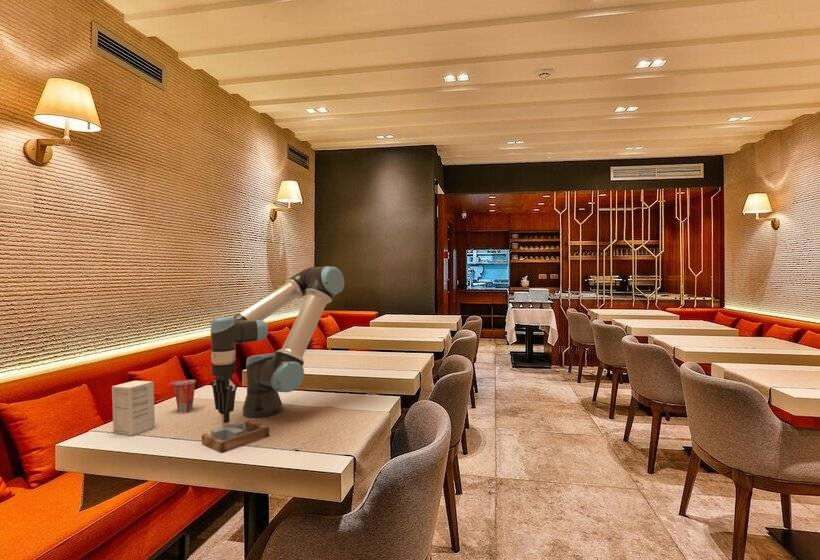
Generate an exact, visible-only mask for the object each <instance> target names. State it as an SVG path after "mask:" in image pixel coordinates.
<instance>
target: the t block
mask: <svg viewBox="0 0 820 560" xmlns="http://www.w3.org/2000/svg"><path fill="white" fill-rule="evenodd" d="M244 424H245V423H242V422H239V421H237V422H234V423H230V425H227V426H224V427H221V428H220V427H218V428H214V429H211V430H210V435H211V436H213V437H216V438H218V439H221V440H226V439H229V438H232V437H235V436H238V435H241V434H244V433H245V425H244Z"/></svg>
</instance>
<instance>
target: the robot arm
mask: <svg viewBox="0 0 820 560" xmlns="http://www.w3.org/2000/svg"><path fill="white" fill-rule="evenodd" d="M344 287H345V278H344V274H343V273H342V271H341V270H340V269H339V268H337V267H336V266H330V265H327V266H311V267H307V268H304V269H302V270H301V271H299V272H298V273H296V274H294V275H293V276H291V277H289V278H287V280H286V281H285V283H284V284H283V285H281V286H279V287H278V288H277V289H275V290H274V291H272V292H270V293H269V294H267V295H265V296H264V297H262V298H261V299H259V300H258V301H256V302H254V303H253V304H251V305H250V306H248V307H247V308H245V309H243V310H242V311H240V312H239V313H237V314H235V315H234V316H223V317H222V316H221V317H220V316H219V317H214V318H213V319H211V322H210V331H209V333H210V343H211V344H210V345H211V355H210V358H211V363H212V364H211V375H212V376H213V377H214V380H212V381H211V382H210V385H211V388H212V393H213V399H214V401H213V402H214V406H215V407H214V409H215V411H216V410H217V412H218V413H219V428H221V427H224V426H227V425H231V423H230V419H231V418H230V413H231V412H234V410H235V401H236V395H237V394H236V393H237V390H238V384H234V379H233V375H234V374H236V362H235V361H236V344H237V345H238V344H243V343H244V344H245V343H250V342H251V343H252V342H259V341H263V340H265V339H266V338H267V336H268V332H269V331H268V329H269V327H268V324H267V322H266V321H264V320H265V319H267V318H268V317H270V316H272V315H273V314H275V313H276V312H278V311H279V310H281V309H282V308H283V307H285V306H287V305H288V304H289V303H291V302H293V301H294V300H299V299H301V298H302V297H304V296H306V297H305V299H304V301H303V304H302V306H301V308H300V310H299V312H298V314H297V316H296V319H294V322H293V325H292V327H291V329H290V331H289V333H288V335H287V337H286V339H285V342H284V343H283V346H282V347H281V348H280V349H278V350H276V351H275V352H271V353H264V354H256V355H250V356H248V357H247V358H246V364H245V368H246V395H245V396H246V397H245V399H244V402H243V406H242V415H243V416H244V417H248V418H263V417H264V418H265V417H269V416H274V415H277V414H279V413H280V412H282V411H283V402H282V400H281V397H280V395H279V393H292V392H293V391H296V390H297V389H298V388H299V387H300V386H301V384H302V383H303V380H304V378H305V370H304V364H305V360H304V357H303V356H304V355H305V352H306V351H307V349H308V346H309V343H310V342H311V340H312V339H311V338H312V337H313V335H314V332H315V330H316V328H317V326H318V324H319V321H320V319H321V316H322V315H323V312H324V309H325V308H326V306H327V305H328V304H330V303H332V301H333V299H334V297H335V296H336V295H338V294H340V293H341V292H342V291H343V290H344Z"/></svg>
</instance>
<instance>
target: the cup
mask: <svg viewBox="0 0 820 560" xmlns="http://www.w3.org/2000/svg"><path fill="white" fill-rule="evenodd" d="M196 382H197V380H196V379H182V380H176V381H172V382H170V383H168V385H173V388H174V395H175V401H176V408H177V412H178V413H179V414H186V413H190V412H192V411H193V405H194V399H195V398H194V397H195V391H196V390H195V387H196Z"/></svg>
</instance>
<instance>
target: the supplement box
mask: <svg viewBox="0 0 820 560" xmlns="http://www.w3.org/2000/svg"><path fill="white" fill-rule="evenodd" d="M111 399H112V400H111V401H112V431H113V433H112V434H116V435H124V436H131V437H132V436H134V435H135V436H136V435H138V434H140V433H144V432H145V431H146V432H147V431H148V430H151V429H153V428H156V425H155V424H156V422H155V419H156V417H155V415H156V414H155V389H154V381H148V380H147V381H146V380H132V381H128V382H124V383H120V384H117V385H116V384H115V385H112V386H111Z"/></svg>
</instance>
